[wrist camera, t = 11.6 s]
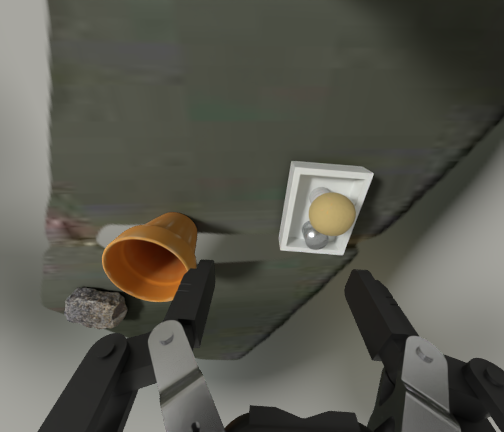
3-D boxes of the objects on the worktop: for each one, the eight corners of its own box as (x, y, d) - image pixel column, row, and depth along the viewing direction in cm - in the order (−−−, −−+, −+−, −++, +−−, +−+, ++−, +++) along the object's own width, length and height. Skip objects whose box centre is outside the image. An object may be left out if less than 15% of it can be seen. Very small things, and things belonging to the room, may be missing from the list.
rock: (78, 304, 58) (131, 316, 60) (59, 326, 53) (118, 338, 55) (74, 277, 52) (133, 291, 54) (52, 298, 46) (119, 313, 49)
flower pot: (136, 236, 44) (93, 281, 33) (156, 186, 38) (112, 221, 27) (193, 263, 48) (172, 312, 36) (220, 221, 42) (205, 265, 30)
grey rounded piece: (303, 219, 38) (308, 230, 34) (324, 220, 38) (331, 232, 34) (299, 236, 40) (303, 248, 36) (319, 237, 40) (325, 250, 36)
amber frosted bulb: (344, 184, 34) (373, 212, 25) (326, 215, 37) (346, 249, 28) (310, 173, 33) (328, 197, 24) (295, 205, 36) (305, 237, 28)
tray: (290, 158, 35) (294, 167, 30) (358, 164, 35) (374, 173, 30) (278, 233, 42) (280, 250, 38) (333, 238, 42) (342, 255, 38)
